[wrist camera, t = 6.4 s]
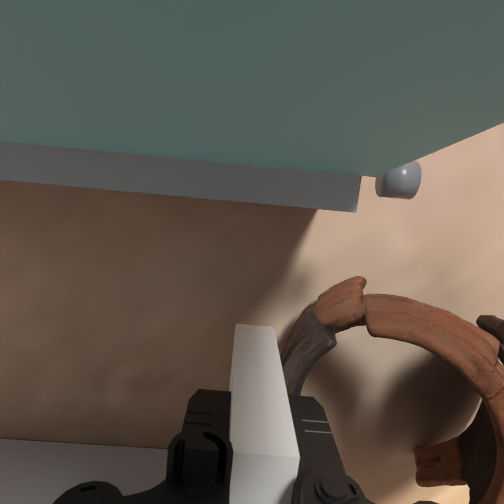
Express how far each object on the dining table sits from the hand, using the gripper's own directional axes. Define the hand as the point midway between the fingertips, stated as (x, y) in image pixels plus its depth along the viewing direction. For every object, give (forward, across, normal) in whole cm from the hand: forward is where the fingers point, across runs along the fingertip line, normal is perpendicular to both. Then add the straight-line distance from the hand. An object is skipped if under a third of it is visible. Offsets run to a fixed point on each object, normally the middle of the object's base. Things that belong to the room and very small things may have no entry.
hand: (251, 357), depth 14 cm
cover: (-10, -6, +8) cm, 14 cm away
